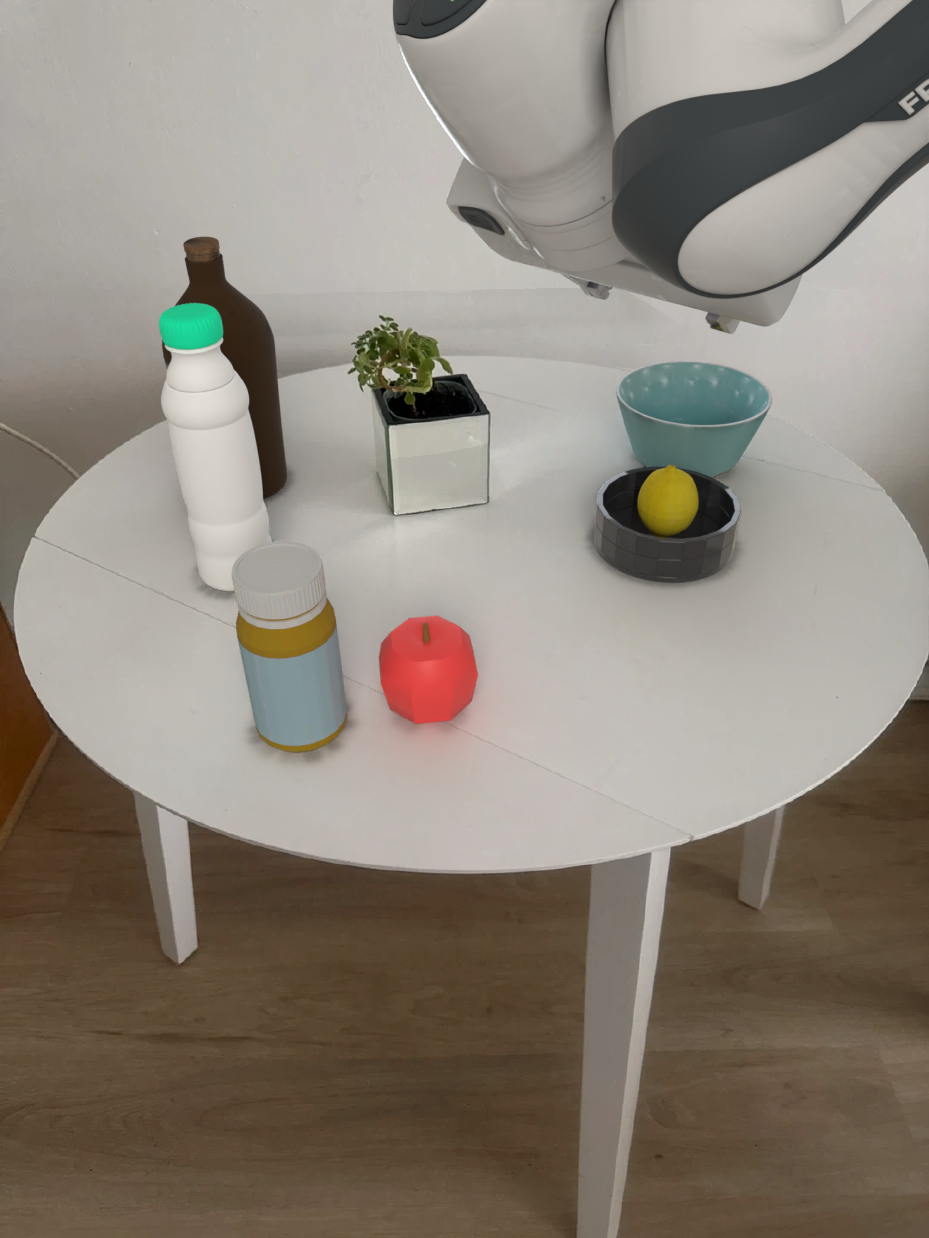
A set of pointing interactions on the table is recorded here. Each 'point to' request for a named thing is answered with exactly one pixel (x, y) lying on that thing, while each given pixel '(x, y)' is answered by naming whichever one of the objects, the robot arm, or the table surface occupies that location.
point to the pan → (677, 555)
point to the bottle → (289, 646)
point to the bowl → (691, 414)
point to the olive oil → (241, 352)
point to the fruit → (668, 501)
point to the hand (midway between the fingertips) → (663, 304)
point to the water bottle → (212, 443)
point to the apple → (427, 669)
